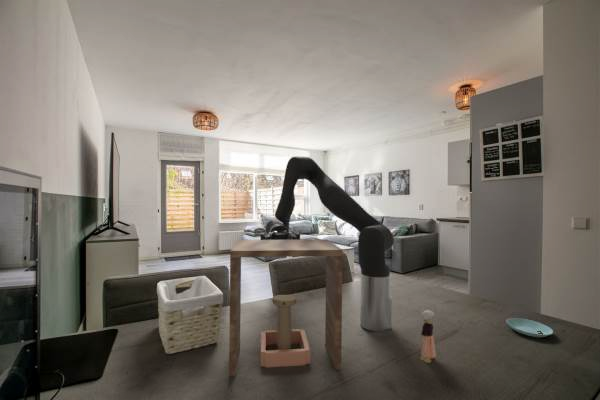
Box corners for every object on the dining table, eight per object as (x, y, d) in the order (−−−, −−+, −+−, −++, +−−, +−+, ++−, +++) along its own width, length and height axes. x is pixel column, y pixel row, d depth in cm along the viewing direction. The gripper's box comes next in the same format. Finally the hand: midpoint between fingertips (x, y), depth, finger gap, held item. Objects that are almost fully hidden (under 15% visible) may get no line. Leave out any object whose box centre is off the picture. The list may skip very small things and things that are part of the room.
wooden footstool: (326, 335, 88) (327, 239, 88) (341, 369, 71) (342, 249, 70) (236, 339, 85) (237, 240, 85) (229, 376, 67) (230, 250, 67)
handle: (295, 357, 76) (296, 301, 76) (270, 357, 76) (271, 300, 76) (296, 348, 80) (296, 294, 80) (273, 347, 80) (273, 294, 80)
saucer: (552, 331, 93) (552, 324, 93) (553, 345, 84) (553, 338, 84) (507, 321, 100) (507, 315, 100) (504, 333, 92) (504, 326, 91)
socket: (303, 340, 85) (303, 328, 85) (310, 364, 72) (310, 350, 72) (261, 342, 83) (261, 330, 83) (260, 367, 71) (260, 353, 71)
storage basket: (155, 324, 95) (155, 280, 95) (205, 315, 103) (206, 274, 103) (162, 360, 74) (163, 303, 74) (224, 344, 82) (225, 293, 82)
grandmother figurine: (433, 366, 72) (434, 316, 72) (417, 362, 74) (418, 313, 74) (437, 353, 79) (438, 307, 79) (422, 349, 81) (423, 304, 81)
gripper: (261, 224, 113) (260, 228, 97) (297, 224, 115) (302, 228, 99) (260, 243, 113) (260, 250, 97) (296, 243, 115) (301, 250, 99)
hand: (281, 239), depth 98 cm, fingers open, 8 cm apart
